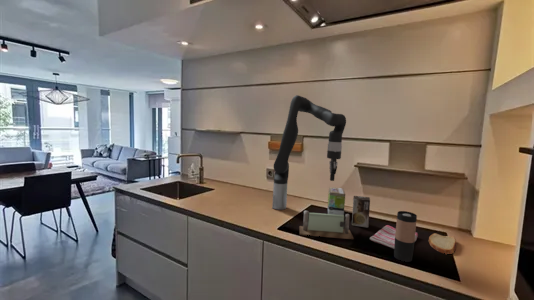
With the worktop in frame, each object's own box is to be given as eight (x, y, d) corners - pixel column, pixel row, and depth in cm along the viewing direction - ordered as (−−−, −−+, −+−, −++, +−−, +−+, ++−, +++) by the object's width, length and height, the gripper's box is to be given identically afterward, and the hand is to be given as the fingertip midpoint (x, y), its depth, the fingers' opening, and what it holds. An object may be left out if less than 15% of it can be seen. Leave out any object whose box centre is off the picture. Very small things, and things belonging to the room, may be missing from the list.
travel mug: (389, 253, 119) (393, 210, 117) (405, 253, 119) (409, 210, 117) (399, 262, 111) (404, 217, 109) (416, 262, 112) (421, 217, 110)
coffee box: (367, 223, 154) (370, 197, 152) (368, 228, 147) (370, 200, 146) (351, 221, 156) (353, 195, 155) (351, 225, 150) (353, 198, 149)
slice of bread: (445, 256, 119) (446, 248, 119) (415, 238, 136) (415, 232, 136) (477, 253, 123) (478, 245, 123) (443, 236, 140) (444, 230, 140)
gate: (308, 230, 138) (309, 213, 137) (308, 228, 140) (309, 212, 139) (343, 232, 137) (344, 216, 136) (342, 231, 138) (343, 215, 137)
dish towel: (418, 238, 137) (419, 232, 136) (405, 254, 120) (406, 246, 119) (384, 228, 148) (385, 223, 148) (368, 241, 131) (368, 234, 131)
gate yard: (299, 234, 135) (300, 214, 134) (299, 227, 145) (300, 207, 144) (353, 239, 132) (355, 218, 131) (349, 231, 142) (350, 211, 141)
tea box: (344, 216, 165) (345, 193, 163) (327, 214, 167) (329, 192, 165) (342, 209, 179) (343, 187, 178) (327, 207, 181) (328, 186, 180)
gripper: (326, 148, 152) (324, 177, 154) (328, 150, 139) (326, 182, 141) (339, 149, 151) (337, 178, 153) (343, 151, 138) (340, 183, 140)
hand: (332, 180), depth 147 cm, fingers closed
